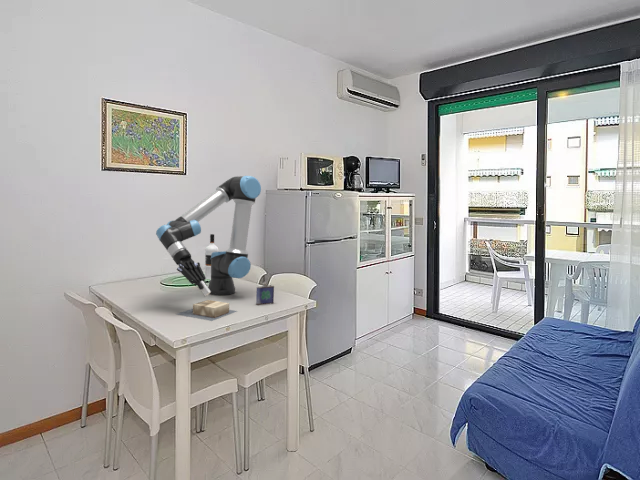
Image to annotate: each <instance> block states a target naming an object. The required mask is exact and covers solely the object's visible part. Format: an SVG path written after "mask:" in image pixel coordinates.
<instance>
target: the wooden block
mask: <svg viewBox="0 0 640 480" xmlns="http://www.w3.org/2000/svg"><path fill="white" fill-rule="evenodd" d="M192 309H193V314H196V315H202V316H207V317H213V318H215V317H218V316H221V315H224V314H226V313H229V310H230V302H224V301H218V300H212V299H206V300H204V301H200V302H196V303H193V304H192Z"/></svg>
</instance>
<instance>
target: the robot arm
mask: <svg viewBox="0 0 640 480" xmlns="http://www.w3.org/2000/svg"><path fill="white" fill-rule="evenodd" d="M261 191H262V186H261V183H260V182H259V180H258V179H257V178H256V177H255V176H253V175H243V176H241V175H239V176H233V177H231V178H229V179H227V180H226V181H224V182H222V184H220V185H219V186H217V187H216V188H215V191H214V192H213V193H211V194H209V195H208V196H207V197H206V198H204V199H203V200H201V201H200V202H199V203H197V204H196V205H194V206H192V208H190V209H189V210H187V211H186V212H185V213H183V214H181V216H179V217H177V218H176V219H175V220H169V221H168V222H167V224H163V225H161V226H159V228H157V230H156V233H155V235H156V236H157V239H158V240H159V242H160V243H161V244H162V246H163V247H164V248H165V250H166V251H167V252H168V254H169V255H170V257H171V258H172V260H173V261H174V263H175V264H176V266H178V267H177V268H176V270H177V272H179V273H180V274H181V275H182V276H184V277H185V279H186V280H187V281H188V282H189V283H190V284H192V285H193V286H195V287H196V286H197V288H198V289H199V290H200V291H201V292H202V294H203V295H204V297H208V296H209V295H212V296H225V295H226V296H229V295H231V294H232V295H233V294H235V293H236V285H235V282H234V279H242V278H244V277H246V276H247V275H248V274H249V273H250V270H251V266H252V265H251V261H250V260H249V258H248V257H249V253H248V251H247V243H248V235H249V231H250V230H249V228H250V222H251V214H252V206H253V205H254V204H256V199H257V198H258V197H259V196H260V195H261ZM232 200H233V202H234V203H235V205H234V213H233V218H232V219H233V221H232V226H231V233H230V241H229V248H228V249H227V250H224V251H219V252H213V253H212V254H211V280H210V282H208V284H207V282H205V281H204V280H205V279H206V277H205V272H204V271H203V269H202V266H201V263H200V262H195V261H194V260H193V258H192V254H191V252H189V250H188V249H187V247H186V245H185V244H184V243H183V242H184V241H186V240H189V239H191V238H194V237H197V236H198V235H200V234H201V233H202V227H201V224H200V223H199V222H200V221H201V220H203V219H204V218H205V217H207V216H208V215H209V214H211V213H212V212H213V211H215V210H216V209H217V208H219V207H220V206H222V205H223V204H224V203H228V202H230V201H232Z"/></svg>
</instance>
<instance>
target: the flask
mask: <svg viewBox="0 0 640 480" xmlns="http://www.w3.org/2000/svg"><path fill="white" fill-rule="evenodd" d="M274 291H275V286H274V285H272V284H267V282H263V285H261V286H256V300H255V304H256V305H257V306H258V305H259V306H261V305H270V303H273V304H274V302H275V301H274V296H275V295H274V294H275V292H274Z"/></svg>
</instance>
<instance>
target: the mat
mask: <svg viewBox="0 0 640 480" xmlns="http://www.w3.org/2000/svg"><path fill="white" fill-rule="evenodd" d="M237 312H238V311H237V310H234V309H229V313H226V314H224V315H221V316H218V317H215V318H213V317H207V316H202V315H196V314H193V308H191V309H187V310H184V311H181V312H177V313H176V315H177V316H182V317H183V316H184V317H186V318H187V317H188V318H193V319H199V320H205V321H209V322H212V321H216V320H219V319H221V318H224V317H226V316H229V315H231V314H232V315H233V314H234V313H237Z"/></svg>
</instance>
